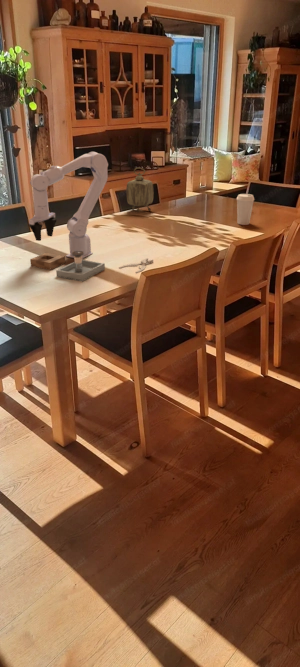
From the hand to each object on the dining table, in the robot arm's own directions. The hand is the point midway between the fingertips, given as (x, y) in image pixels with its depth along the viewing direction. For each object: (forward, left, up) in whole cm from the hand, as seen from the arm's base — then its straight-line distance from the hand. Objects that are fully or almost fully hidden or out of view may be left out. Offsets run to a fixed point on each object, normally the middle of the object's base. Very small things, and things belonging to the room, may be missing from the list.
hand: (44, 238), depth 209 cm
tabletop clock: (-102, -11, -10) cm, 103 cm away
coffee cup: (-102, +54, -10) cm, 116 cm away
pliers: (-11, +39, -10) cm, 42 cm away
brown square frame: (+5, +5, -9) cm, 12 cm away
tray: (+7, +23, -9) cm, 26 cm away
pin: (+7, +22, -9) cm, 25 cm away
